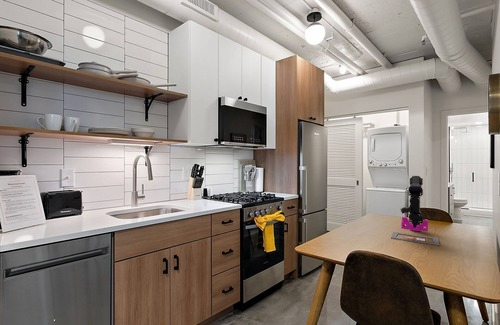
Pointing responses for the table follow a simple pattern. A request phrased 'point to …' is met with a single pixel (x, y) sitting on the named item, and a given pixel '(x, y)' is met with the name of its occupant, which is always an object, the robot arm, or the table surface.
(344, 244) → the table surface
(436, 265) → the table surface
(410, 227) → the toy block
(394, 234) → the frame
